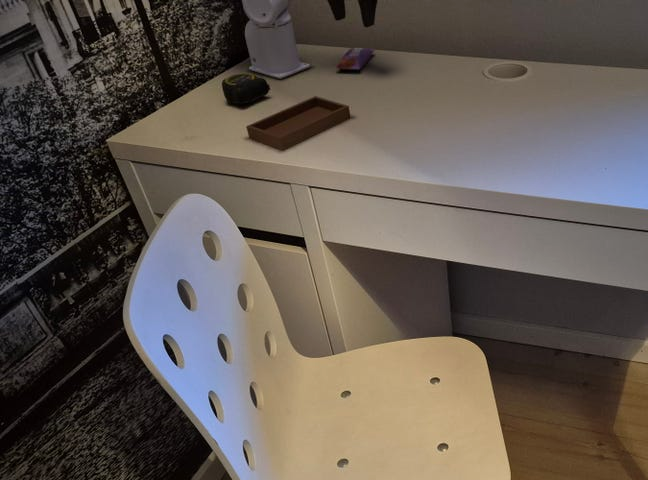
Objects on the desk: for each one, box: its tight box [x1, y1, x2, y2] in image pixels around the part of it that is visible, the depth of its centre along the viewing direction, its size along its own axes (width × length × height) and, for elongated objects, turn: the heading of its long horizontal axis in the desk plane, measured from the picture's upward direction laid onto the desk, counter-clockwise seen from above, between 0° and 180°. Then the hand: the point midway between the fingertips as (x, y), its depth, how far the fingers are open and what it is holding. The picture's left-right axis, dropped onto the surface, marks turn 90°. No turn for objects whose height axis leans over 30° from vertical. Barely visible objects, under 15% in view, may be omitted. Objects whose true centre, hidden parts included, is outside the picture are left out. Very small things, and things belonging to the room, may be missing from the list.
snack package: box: [334, 47, 376, 71], centre depth 133 cm, size 12×2×5 cm
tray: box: [245, 95, 351, 151], centre depth 111 cm, size 15×8×2 cm, turn 144°
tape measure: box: [221, 73, 271, 104], centre depth 120 cm, size 7×7×4 cm
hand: (354, 22), depth 125 cm, fingers open, 7 cm apart
